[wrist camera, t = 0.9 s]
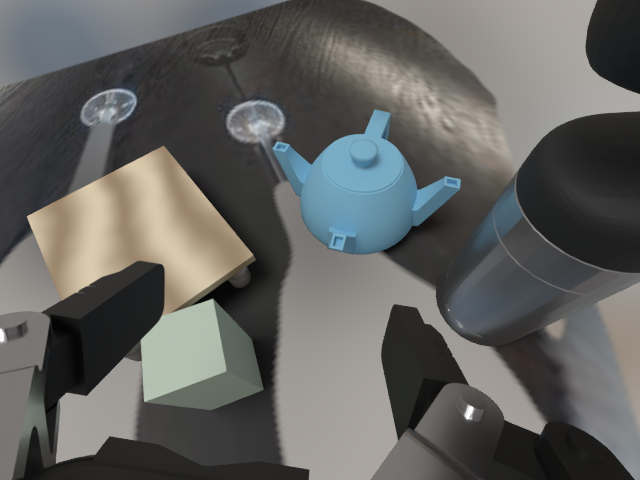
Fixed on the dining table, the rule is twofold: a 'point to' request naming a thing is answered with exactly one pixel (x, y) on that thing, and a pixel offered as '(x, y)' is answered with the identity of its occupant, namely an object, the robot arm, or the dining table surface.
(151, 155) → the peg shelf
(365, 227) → the teapot
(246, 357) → the sage post
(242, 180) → the dining table surface
